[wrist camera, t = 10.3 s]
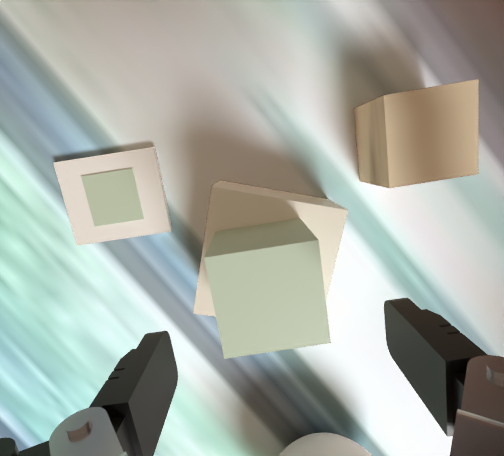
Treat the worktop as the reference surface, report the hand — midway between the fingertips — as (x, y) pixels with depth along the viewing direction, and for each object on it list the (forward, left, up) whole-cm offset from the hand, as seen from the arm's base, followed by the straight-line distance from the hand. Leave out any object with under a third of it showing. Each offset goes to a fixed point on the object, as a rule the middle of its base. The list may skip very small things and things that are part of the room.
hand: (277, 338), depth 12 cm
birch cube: (-10, -6, -13) cm, 17 cm away
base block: (0, 0, -13) cm, 13 cm away
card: (+10, -5, -12) cm, 17 cm away
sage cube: (0, 0, -8) cm, 8 cm away
